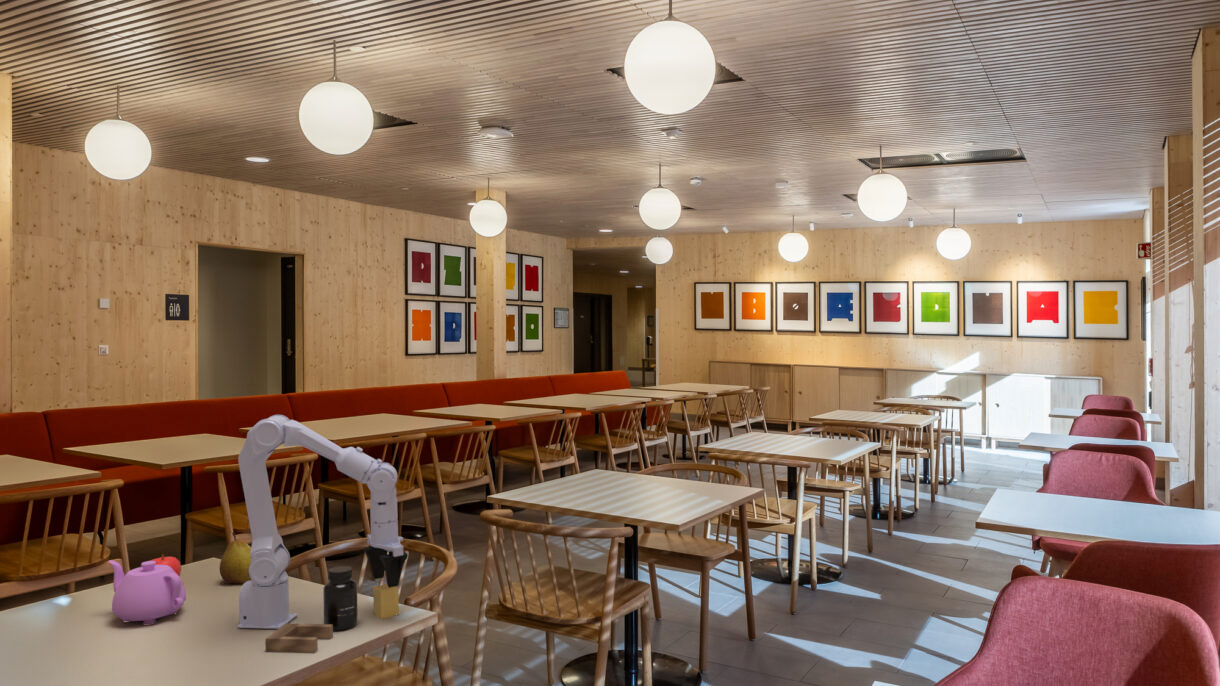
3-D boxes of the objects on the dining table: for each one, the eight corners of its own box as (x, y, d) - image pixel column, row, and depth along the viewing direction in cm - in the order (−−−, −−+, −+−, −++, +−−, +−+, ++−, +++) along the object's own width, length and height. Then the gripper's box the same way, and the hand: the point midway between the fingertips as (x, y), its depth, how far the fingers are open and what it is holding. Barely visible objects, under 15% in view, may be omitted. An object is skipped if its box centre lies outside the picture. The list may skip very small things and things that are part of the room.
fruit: (257, 584, 200) (256, 536, 199) (217, 588, 197) (215, 539, 197) (262, 574, 208) (260, 527, 208) (223, 577, 205) (222, 530, 205)
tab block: (381, 619, 174) (380, 591, 174) (373, 614, 177) (373, 587, 177) (398, 614, 177) (398, 587, 176) (391, 610, 180) (390, 583, 180)
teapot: (82, 623, 174) (81, 567, 174) (138, 602, 188) (136, 550, 188) (156, 632, 169) (154, 574, 168) (208, 609, 182) (206, 555, 182)
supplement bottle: (347, 632, 166) (346, 575, 166) (317, 630, 168) (315, 573, 168) (364, 620, 173) (362, 565, 173) (335, 619, 175) (333, 563, 174)
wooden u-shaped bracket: (265, 651, 158) (265, 638, 157) (286, 635, 165) (285, 623, 165) (314, 652, 156) (314, 639, 156) (333, 636, 164) (332, 624, 164)
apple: (137, 591, 196) (136, 558, 196) (160, 580, 204) (159, 549, 204) (166, 592, 195) (165, 559, 194) (189, 582, 202) (188, 550, 202)
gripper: (415, 523, 173) (417, 585, 174) (387, 511, 185) (389, 570, 185) (384, 528, 169) (386, 593, 169) (357, 516, 180) (359, 577, 180)
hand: (385, 582), depth 177 cm, fingers open, 7 cm apart
